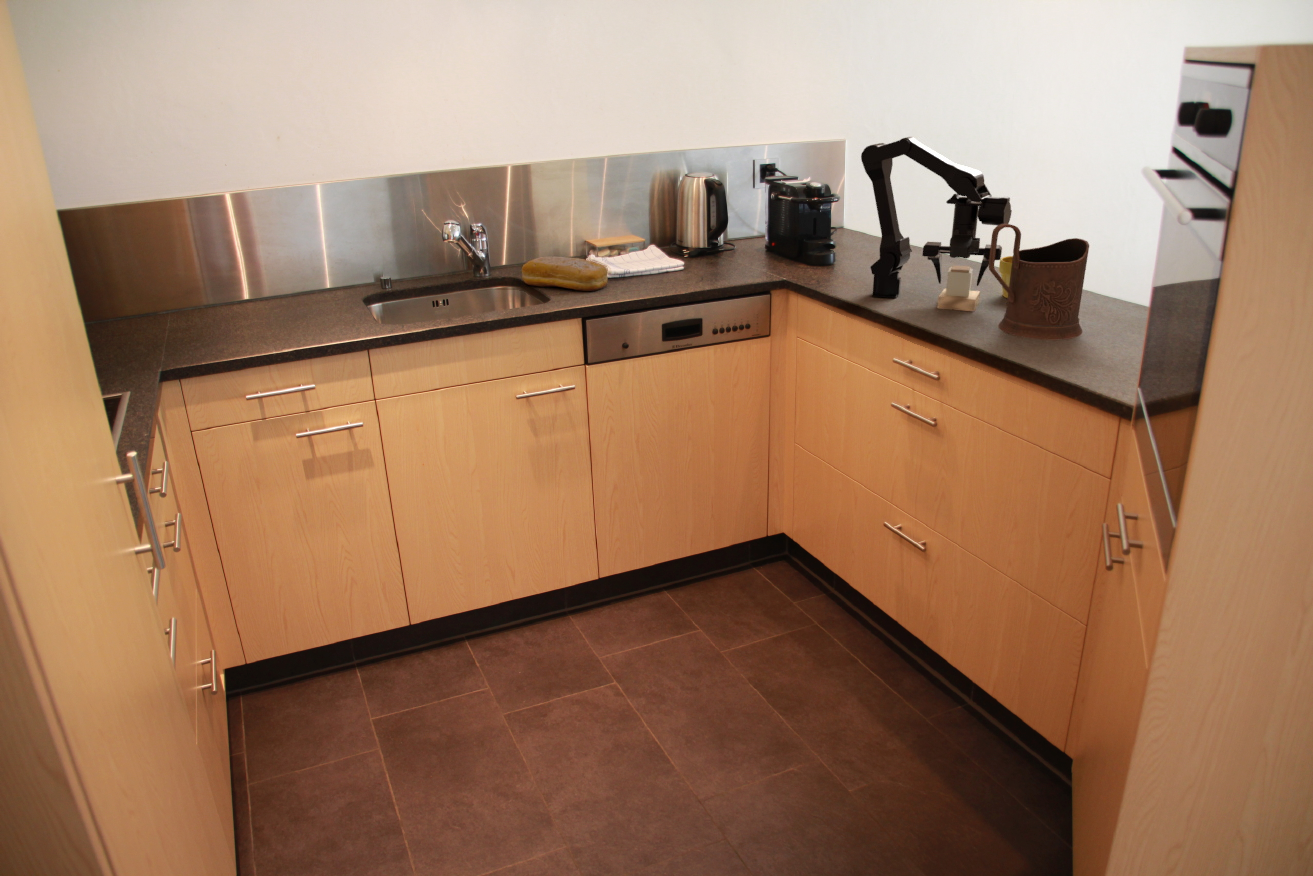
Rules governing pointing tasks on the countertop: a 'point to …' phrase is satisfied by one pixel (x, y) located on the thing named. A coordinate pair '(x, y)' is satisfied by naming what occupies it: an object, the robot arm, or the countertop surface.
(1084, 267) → the cup holder
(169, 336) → the countertop surface
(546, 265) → the bread
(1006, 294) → the plant pot
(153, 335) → the countertop surface
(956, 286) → the cream lidded box
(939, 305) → the beech block
